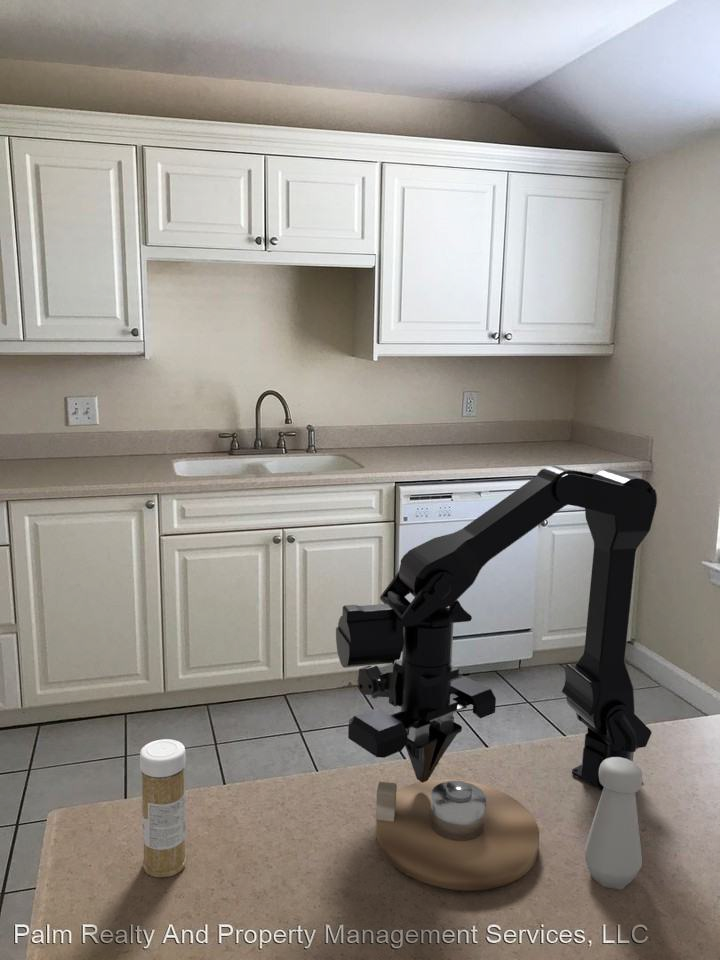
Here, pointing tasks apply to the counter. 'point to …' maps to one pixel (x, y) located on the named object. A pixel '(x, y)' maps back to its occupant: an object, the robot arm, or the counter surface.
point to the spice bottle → (163, 807)
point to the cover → (457, 810)
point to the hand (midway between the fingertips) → (422, 780)
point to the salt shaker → (615, 826)
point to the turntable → (449, 862)
